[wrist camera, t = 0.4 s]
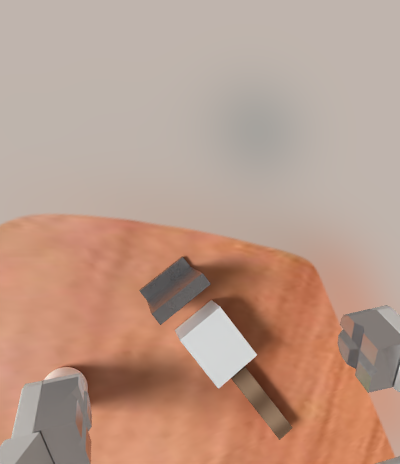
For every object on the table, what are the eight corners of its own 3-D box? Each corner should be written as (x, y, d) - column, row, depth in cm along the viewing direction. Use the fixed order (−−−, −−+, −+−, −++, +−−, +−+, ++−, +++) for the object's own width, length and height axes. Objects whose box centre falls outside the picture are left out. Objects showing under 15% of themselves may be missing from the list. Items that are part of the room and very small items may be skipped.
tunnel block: (245, 344, 66) (257, 355, 60) (209, 374, 65) (218, 388, 59) (211, 299, 65) (220, 306, 59) (174, 329, 64) (179, 340, 58)
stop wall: (196, 275, 65) (210, 284, 54) (154, 308, 63) (160, 324, 53) (182, 256, 64) (194, 261, 53) (139, 290, 63) (142, 302, 52)
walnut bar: (285, 419, 68) (292, 427, 66) (272, 430, 68) (279, 439, 65) (239, 361, 67) (245, 367, 64) (226, 372, 66) (231, 379, 63)
